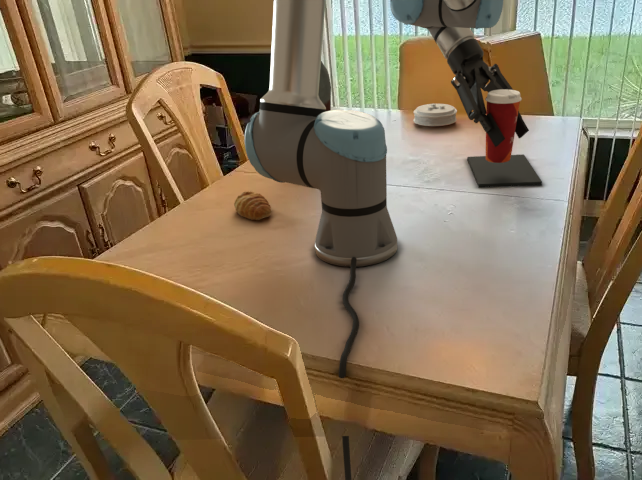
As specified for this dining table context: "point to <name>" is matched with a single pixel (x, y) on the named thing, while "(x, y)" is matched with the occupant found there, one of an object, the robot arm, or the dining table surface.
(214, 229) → the dining table surface
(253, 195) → the pastry
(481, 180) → the dark mat
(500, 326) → the dining table surface
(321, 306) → the dining table surface
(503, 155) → the paper cup
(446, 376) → the dining table surface
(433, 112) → the lid
